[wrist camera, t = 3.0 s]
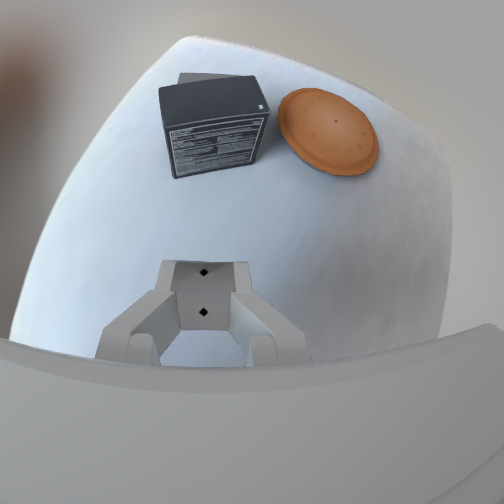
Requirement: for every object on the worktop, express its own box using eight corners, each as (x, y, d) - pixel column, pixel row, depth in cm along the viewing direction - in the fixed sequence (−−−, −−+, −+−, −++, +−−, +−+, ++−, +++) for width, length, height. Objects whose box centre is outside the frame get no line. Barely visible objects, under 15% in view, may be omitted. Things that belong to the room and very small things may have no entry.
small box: (242, 126, 35) (255, 72, 25) (255, 165, 34) (274, 113, 24) (165, 139, 32) (157, 84, 22) (172, 181, 31) (163, 129, 21)
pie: (364, 202, 36) (384, 188, 31) (260, 164, 34) (268, 143, 29) (367, 125, 39) (382, 108, 35) (282, 91, 38) (290, 69, 33)
